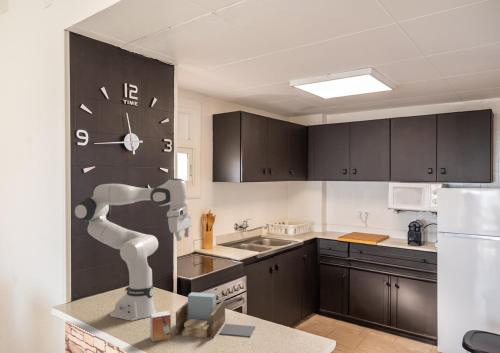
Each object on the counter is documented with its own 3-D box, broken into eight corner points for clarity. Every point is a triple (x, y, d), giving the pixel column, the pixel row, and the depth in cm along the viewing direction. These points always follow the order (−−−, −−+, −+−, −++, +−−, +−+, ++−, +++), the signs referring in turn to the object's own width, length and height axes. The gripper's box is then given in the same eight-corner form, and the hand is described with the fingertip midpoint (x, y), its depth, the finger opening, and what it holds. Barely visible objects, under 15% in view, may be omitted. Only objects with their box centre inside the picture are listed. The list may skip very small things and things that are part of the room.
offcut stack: (182, 336, 160) (182, 324, 160) (187, 330, 166) (187, 318, 166) (206, 338, 157) (206, 326, 157) (211, 332, 163) (210, 320, 163)
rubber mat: (219, 334, 160) (219, 333, 160) (225, 324, 170) (225, 323, 170) (250, 337, 157) (250, 335, 157) (254, 327, 167) (254, 326, 167)
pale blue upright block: (188, 327, 168) (187, 295, 167) (192, 323, 172) (191, 292, 172) (213, 330, 165) (212, 297, 165) (216, 325, 169) (215, 293, 169)
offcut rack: (176, 334, 161) (175, 312, 160) (191, 318, 178) (191, 298, 178) (213, 338, 157) (212, 315, 157) (225, 321, 174) (224, 300, 174)
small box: (152, 342, 154) (151, 317, 154) (150, 337, 159) (149, 313, 159) (171, 338, 157) (170, 314, 157) (168, 333, 162) (168, 310, 162)
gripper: (182, 209, 190) (185, 235, 190) (164, 213, 170) (168, 243, 170) (193, 208, 189) (196, 234, 189) (177, 212, 169) (180, 242, 169)
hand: (183, 238), depth 179 cm, fingers open, 8 cm apart
